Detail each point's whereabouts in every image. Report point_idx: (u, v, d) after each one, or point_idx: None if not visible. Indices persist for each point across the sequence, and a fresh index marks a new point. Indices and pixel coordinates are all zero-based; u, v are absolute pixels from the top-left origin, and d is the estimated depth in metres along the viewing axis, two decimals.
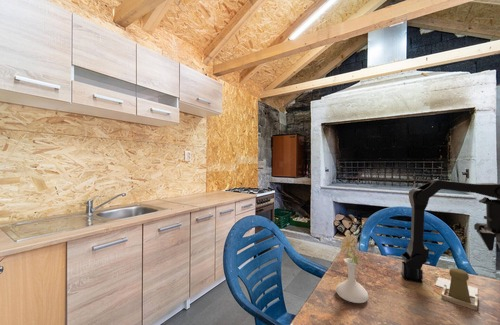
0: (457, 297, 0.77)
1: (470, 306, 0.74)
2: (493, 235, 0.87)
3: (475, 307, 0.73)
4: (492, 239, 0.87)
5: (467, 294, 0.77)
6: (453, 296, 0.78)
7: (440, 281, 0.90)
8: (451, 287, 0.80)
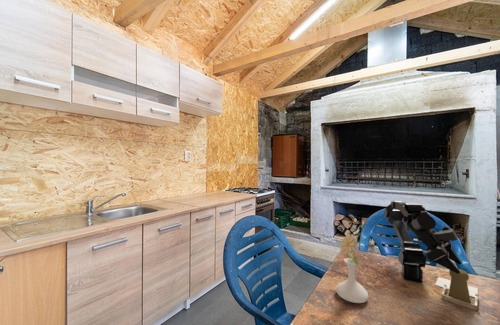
0: (457, 297, 0.77)
1: (470, 306, 0.74)
2: (448, 247, 0.85)
3: (475, 307, 0.73)
4: (451, 252, 0.84)
5: (467, 294, 0.77)
6: (453, 296, 0.78)
7: (440, 281, 0.90)
8: (451, 287, 0.80)
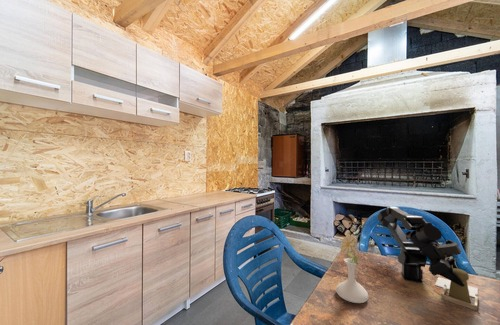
0: (457, 297, 0.77)
1: (470, 306, 0.74)
2: (451, 263, 0.83)
3: (475, 307, 0.73)
4: (454, 267, 0.82)
5: (467, 294, 0.77)
6: (453, 296, 0.78)
7: (440, 281, 0.90)
8: (451, 287, 0.80)
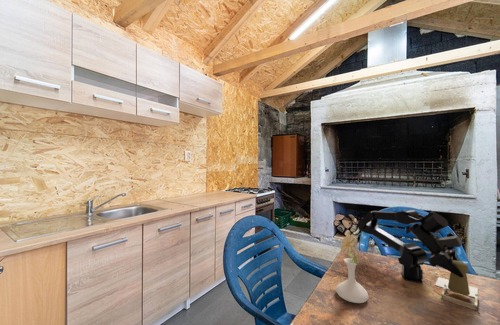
0: (456, 288, 0.80)
1: (470, 306, 0.74)
2: (452, 255, 0.85)
3: (475, 307, 0.73)
4: (455, 259, 0.84)
5: (466, 285, 0.79)
6: (452, 287, 0.81)
7: (440, 281, 0.90)
8: (450, 278, 0.82)
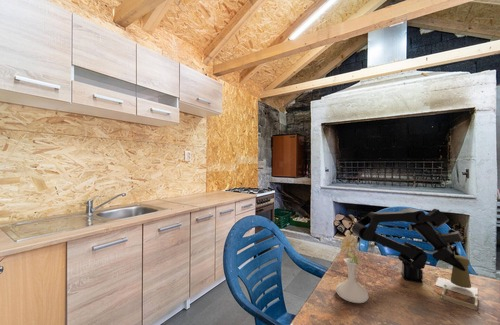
0: (458, 281, 0.84)
1: (470, 306, 0.74)
2: (453, 250, 0.89)
3: (475, 307, 0.73)
4: (456, 254, 0.88)
5: (468, 278, 0.83)
6: (455, 280, 0.85)
7: (440, 281, 0.90)
8: (453, 272, 0.86)
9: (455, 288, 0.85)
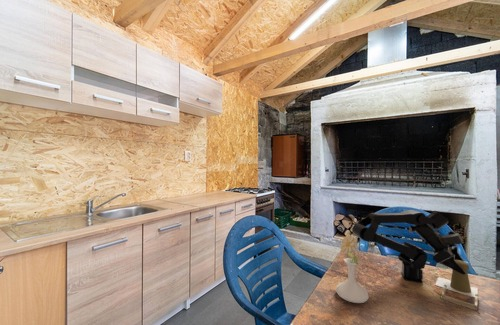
0: (458, 286, 0.84)
1: (470, 306, 0.74)
2: (454, 251, 0.90)
3: (475, 307, 0.73)
4: (457, 255, 0.89)
5: (467, 283, 0.83)
6: (454, 285, 0.85)
7: (440, 281, 0.90)
8: (453, 277, 0.86)
9: None
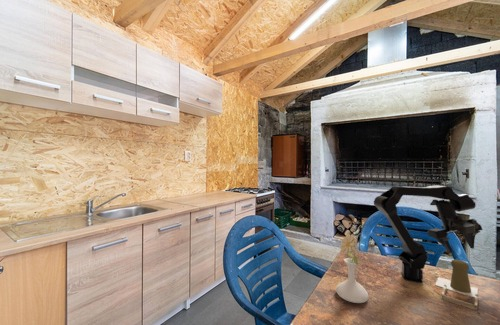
0: (458, 286, 0.84)
1: (470, 306, 0.74)
2: (470, 233, 0.90)
3: (475, 307, 0.73)
4: (470, 237, 0.90)
5: (467, 283, 0.83)
6: (454, 285, 0.85)
7: (440, 281, 0.90)
8: (453, 277, 0.86)
9: None
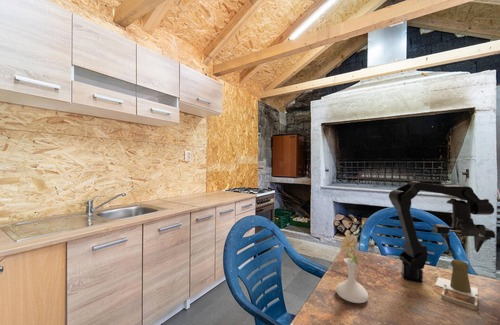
0: (458, 286, 0.84)
1: (470, 306, 0.74)
2: (479, 238, 0.89)
3: (475, 307, 0.73)
4: (478, 241, 0.89)
5: (467, 283, 0.83)
6: (454, 285, 0.85)
7: (440, 281, 0.90)
8: (453, 277, 0.86)
9: None
